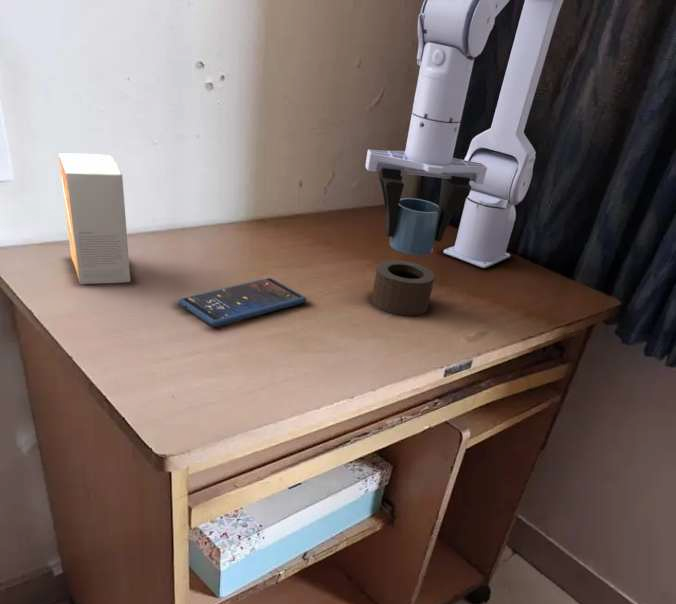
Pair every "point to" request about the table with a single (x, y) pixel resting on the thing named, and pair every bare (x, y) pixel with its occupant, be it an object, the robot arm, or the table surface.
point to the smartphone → (241, 301)
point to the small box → (95, 217)
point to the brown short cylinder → (402, 287)
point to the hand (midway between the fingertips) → (412, 236)
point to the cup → (415, 226)
